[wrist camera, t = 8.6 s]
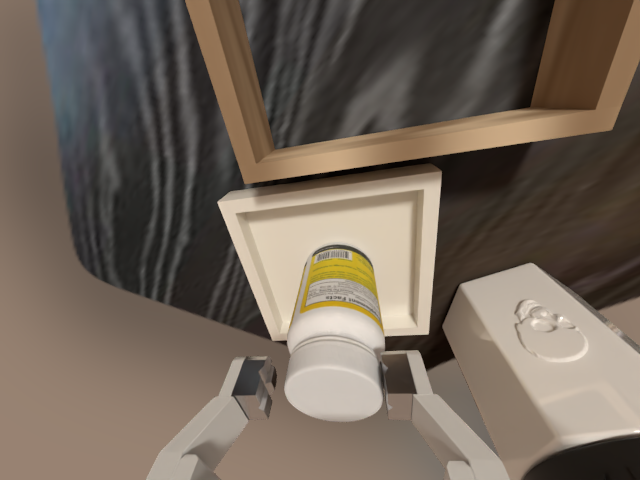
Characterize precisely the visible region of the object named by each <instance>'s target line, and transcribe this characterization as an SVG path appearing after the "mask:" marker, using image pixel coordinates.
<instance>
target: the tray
mask: <svg viewBox="0 0 640 480" xmlns="http://www.w3.org/2000/svg"><path fill="white" fill-rule="evenodd" d="M441 178H442V171H441V170H440V169H438V168H437V167H436V166H434V165H433V164H431V163H426V164H419V165H412V166H405V167H398V168H391V169H384V170H378V171H371V172H364V173H357V174H350V175H343V176H336V177H329V178H322V179H315V180H308V181H301V182H294V183H287V184H280V185H273V186H266V187H259V188H252V189H245V190H238V191H231V192H229V193H228V194H227V195H225V196H224V197H223V198H222V199H221V200H219V201H218V202H217V203H218V205H219V208H220V210H221V213H222V215H223V218H224V220H225V223H226V225H227V228H228V230H229V233H230V235H231V238H232V240H233V243H234V245H235V248H236V250H237V253H238V255H239V258H240V260H241V263H242V265H243V268H244V270H245V273H246V275H247V278H248V280H249V283H250V285H251V288H252V291H253V293H254V296H255V298H256V301H257V303H258V306H259V308H260V311H261V313H262V316H263V318H264V321H265V323H266V326H267V328H268V331H269V333H270V336H271V338H272V341H281V340H287V334H288V330H289V326H290V322H291V318H292V315H293V311H294V307H295V303H296V299H297V295H298V291H299V287H300V283H301V278H302V274H303V270H304V266H305V263H306V261H307V259H308V257H309V255H310V254H311V253H312V252H313V251H314V250H315V249H317V248H318V247H320V246H322V245H324V244H328V243H333V242H343V243H348V244H351V245H354V246H356V247H358V248H360V249H361V250H362V251H364V252H365V253H366V254H367V255H368V257H369V258H370V260H371V262H372V265H373V269H374V275H375V281H376V287H377V293H378V300H379V305H380V312H381V318H382V324H383V330H384V336H400V335H423V334H429V322H430V310H431V298H432V286H433V274H434V262H435V250H436V238H437V226H438V214H439V202H440V190H441Z"/></svg>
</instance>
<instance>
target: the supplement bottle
mask: <svg viewBox="0 0 640 480" xmlns="http://www.w3.org/2000/svg"><path fill="white" fill-rule="evenodd" d="M287 345H288V349H289V352H290V355H291V356H290V359H289V363H288V370H287V374H286V379H285V385H284V392H285V395H286V397H287V400H288V401H289V402H290V403H291V404H292V405H293V406H294V407H295V408H296V409H297V410H299V411H301V412H303V413H305V414H306V415H309V416H311V417H314V418H317V419H321V420H325V421H331V422H352V421H358V420H362V419H365V418H367V417H370V416H372V415H373V414H375V413H376V412H377V411H378V410H379V409H380V407H381V406H382V403H383V399H384V396H383V382H382V370H381V365H380V361H381V358H380V352H384V351H385V337H384V330H383V324H382V318H381V312H380V305H379V300H378V293H377V287H376V281H375V275H374V269H373V265H372V262H371V260H370V258H369V257H368V255H367V254H366V253H365V252H364V251H362V250H361V249H360V248H358V247H356V246H354V245H351V244H348V243H343V242H333V243H328V244H324V245H322V246H320V247H318V248H317V249H315V250H314V251H313V252H312V253H311V254H310V255H309V257H308V259H307V261H306V263H305V266H304V270H303V274H302V278H301V283H300V287H299V291H298V295H297V299H296V303H295V307H294V311H293V315H292V318H291V322H290V326H289V330H288V334H287Z"/></svg>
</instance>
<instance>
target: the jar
mask: <svg viewBox="0 0 640 480" xmlns="http://www.w3.org/2000/svg"><path fill="white" fill-rule="evenodd" d="M442 328H443V330H444V333H445V335H446V337H447V339H448V342H449V344H450V346H451V349H452V351H453V353H454V355H455V358H456V360H457V362H458V364H459V367H460V369H461V371H462V373H463V376H464V378H465V380H466V383H467V385H468V387H469V389H470V392H471V394H472V396H473V398H474V401H475V403H476V405H477V407H478V410H479V412H480V414H481V417H482V419H483V421H484V423H485V426H486V428H487V430H488V432H489V434H490V437H491V439H492V442H493V444H494V446H495V448H496V451H497V453H498V455H499V457H500V460H501V461H502V463H503V465H504V467H505V469H506V472H507V474H508V476H509V478H510V480H640V346H639V345H638V344H636V343H635V342H634V341H633V340H632V339H630V338H629V337H628V336H627V335H625V334H624V333H623V332H622V331H621V330H619V329H618V328H617V327H616V326H615V325H614V324H612V323H611V322H610V321H609V320H607V319H606V318H605V317H604V316H603V315H601V314H600V313H599V312H598V311H597V310H595V309H594V308H593V307H592V306H591V305H589V304H588V303H587V302H586V301H584V300H583V299H582V298H581V297H580V296H578V295H577V294H576V293H575V292H573V291H572V290H571V289H569V288H568V287H566V286H565V285H563V284H562V283H561V282H559V281H558V280H556V279H555V278H553V277H552V276H551V275H549V274H548V273H546V272H545V271H543V270H542V269H541V268H539V267H538V266H536V265H535V264H533V263H527V264H524V265H520V266H517V267H514V268H510V269H507V270H504V271H501V272H497V273H494V274H491V275H488V276H484V277H481V278H478V279H474V280H471V281H468V282H465V283H461V284H460V285H459V287H458V290H457V292H456V294H455V297H454V299H453V302H452V304H451V306H450V309H449V311H448V313H447V316H446V318H445V321H444V323H443V325H442Z"/></svg>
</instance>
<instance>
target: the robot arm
mask: <svg viewBox="0 0 640 480" xmlns="http://www.w3.org/2000/svg"><path fill="white" fill-rule="evenodd" d="M380 358H381V370H382V381H383V388H384V390H385V401H386V406H387V413H388V419H389V420H412V421H411V422H412V423H413V424H414V426H415V427H416V429H417V430H418V432H419V433H420V434H421V436H422V437H423V439H424V440H425V441H426V443H427V444H428V446H429V447H430V448H431V450H432V451H433V453H434V454H435V455H436V457H437V458H438V460H439V461H440V462H441V464H442V465H443V467H444V468H445V470H446V471H445V474H444V478H443V480H510V478H509V476H508V474H507V472H506V469H505V467H504V465H503V463H502V461H501V460H500V459H499V458H498V457H497V456H496V454H495V453H494V452H492V450H491V449H490V448H489V447H488V446H487V445H486V444H485V443H484V442H483V441H482V440H481V439H480V438H479V437H478V436H477V435H476V434H475V433H474V432H473V431H472V429H470V427H469V426H468V425H466V423H465V422H464V421H463V420H462V419H461V418H460V417H459V416H458V415H457V414H456V413H455V412H454V411H453V410H452V409H451V408H450V407H449V406H448V404H447V403H446V402H445V401H444V400H443V399H442V398H441V397H440V396H439V395H438V394H433V391H432V388H431V385H430V382H429V379H428V376H427V372H426V369H425V366H424V363H423V360H422V357H421V354H420V352H419V351H418V350H413V351H387V352H380ZM271 362H272V360H271V358H270V356H255V357H235V359H234V360H233V362H232V364H231V366H230V368H229V371H228V373H227V376H226V378H225V381H224V383H223V386H222V388H221V390H220V393H219V395H218V397H214V398H213V399H212V400H211V401H210V402H209V403H208V404H207V405H206V406H205V407H204V408H203V409H202V410H201V411H200V412H199V413H198V414H197V415H196V416H195V417H194V418H193V419H192V420H191V421H190V422H189V423H188V424H187V425H186V426H185V427H184V428H183V430H181V431H180V432H179V433H178V434H177V435H176V437H174V439H172V440H171V442H169V443H168V444H167V446H166V447H165V448H164V449H163V450H162V451H161V452H160V453H159V455H158V457H157V459H156V461H155V463H154V465H153V467H152V469H151V471H150V473H149V474H148V476H147V478H146V480H221V479H220V478H219V477H218V476H217V475H216V474H215V473H214V472H213V471H214V470H215V468H216V467H217V465H218V464H219V463H220V461H221V460H222V458H223V457H224V456H225V454H226V453H227V451H228V450H229V448H230V447H231V446H232V444H233V443H234V441H235V440H236V439H237V437H238V436H239V434H240V433H241V432H242V430H243V429H244V427H245V426H246V424H247V423H248V422H249V420H259V419H268V418H269V414H270V409H271V405H272V400H271V397H270V395H271V394H272V393H273V392H274V390H275V386H276V378H277V375H276V369H275V367H274V366H272V365H271Z"/></svg>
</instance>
